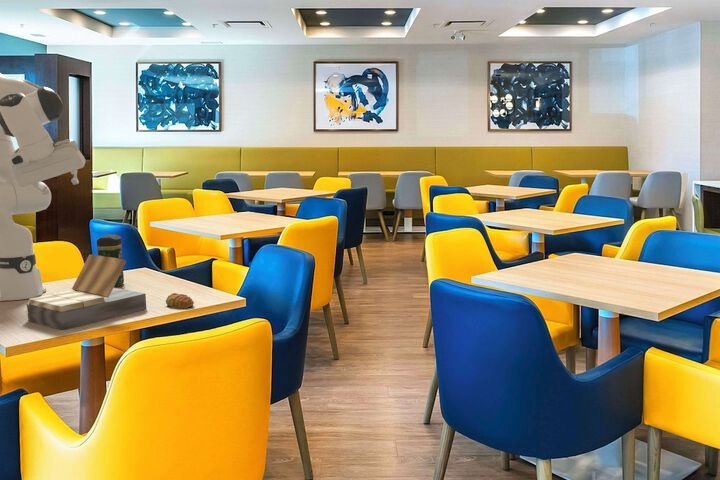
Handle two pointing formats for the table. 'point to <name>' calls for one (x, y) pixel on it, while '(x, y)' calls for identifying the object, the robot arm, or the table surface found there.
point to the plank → (99, 275)
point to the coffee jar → (111, 251)
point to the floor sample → (82, 307)
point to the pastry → (179, 301)
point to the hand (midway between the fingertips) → (61, 188)
